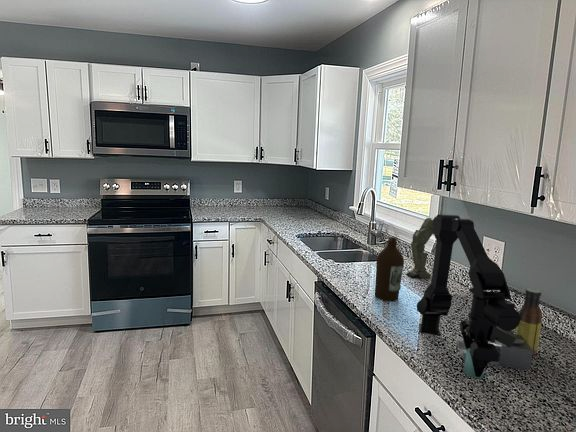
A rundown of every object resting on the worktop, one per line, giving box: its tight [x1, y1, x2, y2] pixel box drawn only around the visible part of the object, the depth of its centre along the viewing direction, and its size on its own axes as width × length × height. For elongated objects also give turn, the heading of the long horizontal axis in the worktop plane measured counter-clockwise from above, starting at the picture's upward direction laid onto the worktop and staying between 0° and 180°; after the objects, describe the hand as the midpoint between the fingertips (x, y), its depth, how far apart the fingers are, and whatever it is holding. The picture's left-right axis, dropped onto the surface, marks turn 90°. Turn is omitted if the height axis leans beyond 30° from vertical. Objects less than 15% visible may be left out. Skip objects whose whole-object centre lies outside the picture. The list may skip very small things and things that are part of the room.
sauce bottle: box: [515, 287, 543, 356], centre depth 121 cm, size 6×6×20 cm
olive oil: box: [374, 236, 405, 302], centre depth 161 cm, size 11×11×25 cm
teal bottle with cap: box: [463, 348, 486, 379], centre depth 108 cm, size 5×5×7 cm
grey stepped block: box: [456, 333, 533, 371], centre depth 118 cm, size 10×18×7 cm, turn 77°
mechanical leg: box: [405, 217, 434, 279], centre depth 193 cm, size 14×7×30 cm, turn 106°
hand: (474, 368), depth 108 cm, fingers open, 8 cm apart
